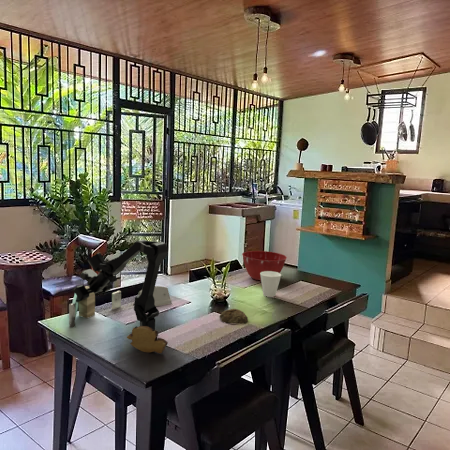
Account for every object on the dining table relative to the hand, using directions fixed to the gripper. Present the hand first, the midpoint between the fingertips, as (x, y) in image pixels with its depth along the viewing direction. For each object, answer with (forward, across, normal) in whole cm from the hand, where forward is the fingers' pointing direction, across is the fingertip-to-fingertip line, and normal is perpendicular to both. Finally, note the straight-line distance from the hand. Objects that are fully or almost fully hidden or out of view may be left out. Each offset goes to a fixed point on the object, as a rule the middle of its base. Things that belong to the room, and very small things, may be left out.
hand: (84, 298), depth 188 cm
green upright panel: (+6, +3, +4) cm, 8 cm away
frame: (+1, -1, +10) cm, 10 cm away
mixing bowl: (-27, -107, +38) cm, 117 cm away
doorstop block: (+4, 0, +7) cm, 8 cm away
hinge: (-7, -30, +18) cm, 35 cm away
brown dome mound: (-37, -33, +49) cm, 70 cm away
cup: (-38, -77, +50) cm, 99 cm away
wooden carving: (-28, +14, +39) cm, 50 cm away
